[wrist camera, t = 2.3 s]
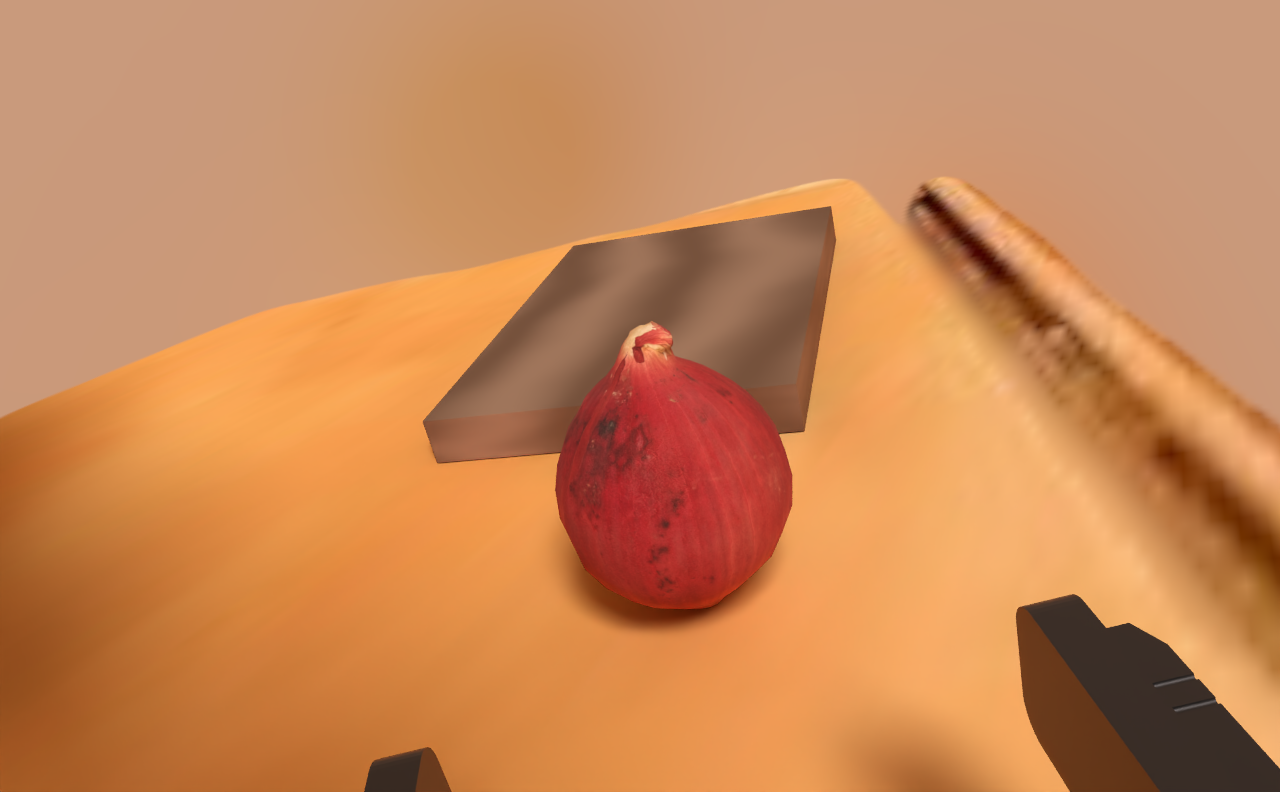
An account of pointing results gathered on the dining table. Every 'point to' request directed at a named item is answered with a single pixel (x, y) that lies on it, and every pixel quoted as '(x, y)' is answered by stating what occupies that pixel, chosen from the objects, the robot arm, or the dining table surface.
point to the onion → (671, 479)
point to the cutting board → (635, 295)
